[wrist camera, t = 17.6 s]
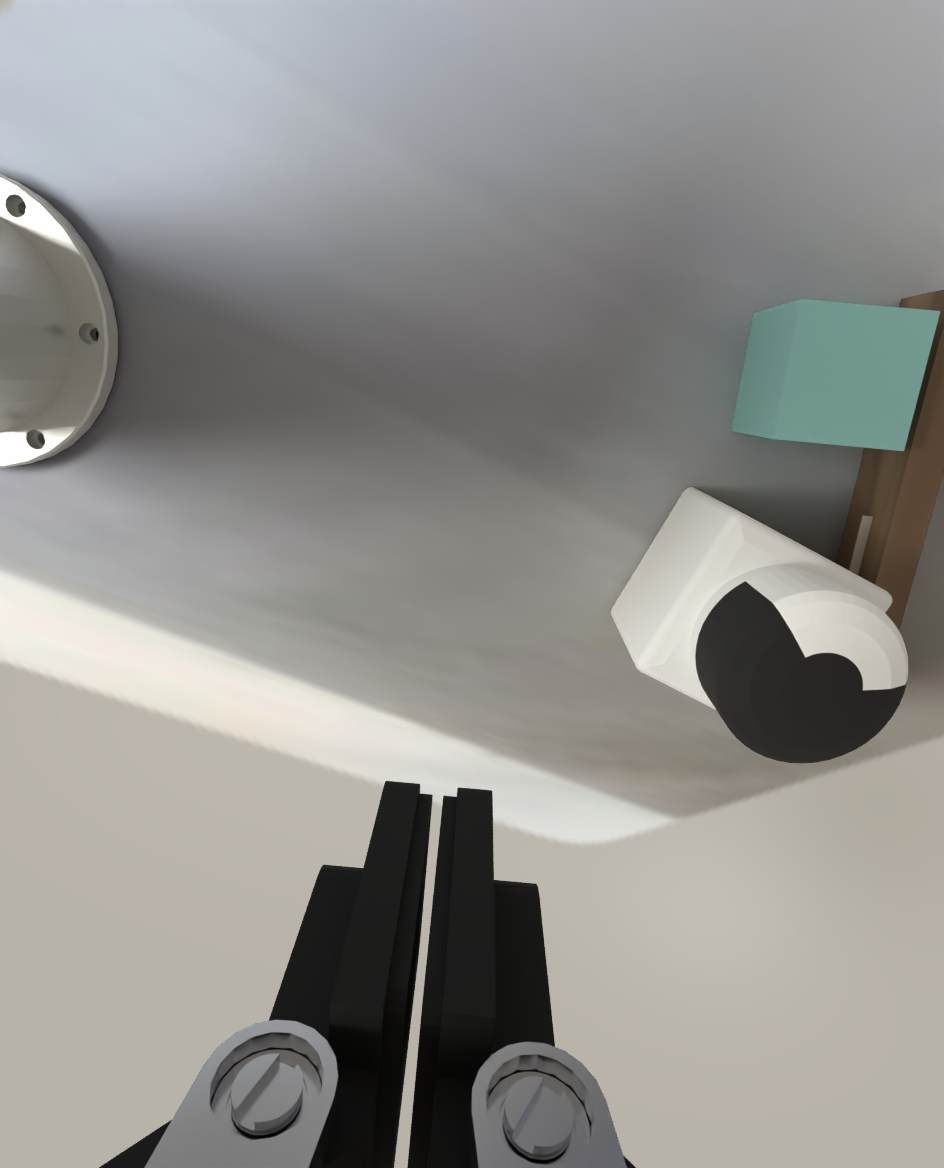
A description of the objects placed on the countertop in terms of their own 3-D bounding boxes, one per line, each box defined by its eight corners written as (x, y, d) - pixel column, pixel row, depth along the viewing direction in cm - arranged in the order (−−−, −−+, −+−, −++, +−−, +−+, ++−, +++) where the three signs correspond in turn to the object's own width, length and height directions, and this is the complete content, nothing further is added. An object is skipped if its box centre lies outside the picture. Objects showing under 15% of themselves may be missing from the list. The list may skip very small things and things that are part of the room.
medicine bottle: (731, 677, 34) (848, 824, 23) (606, 612, 34) (662, 731, 22) (816, 553, 32) (990, 646, 21) (686, 483, 32) (791, 538, 20)
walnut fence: (802, 668, 34) (835, 699, 31) (892, 298, 29) (943, 286, 26) (840, 671, 34) (878, 703, 30) (936, 302, 29) (994, 291, 26)
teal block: (730, 430, 31) (772, 439, 26) (752, 312, 30) (801, 298, 25) (841, 441, 31) (904, 451, 26) (869, 323, 30) (940, 310, 25)
